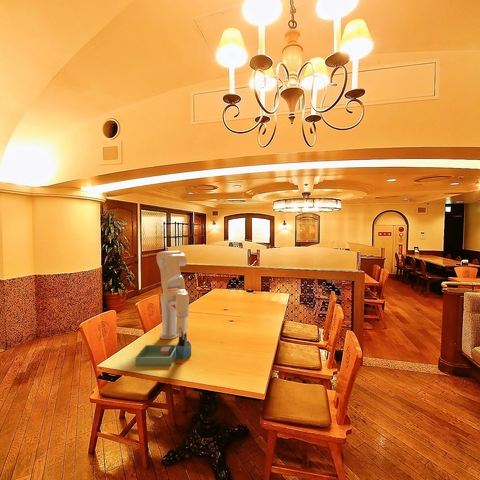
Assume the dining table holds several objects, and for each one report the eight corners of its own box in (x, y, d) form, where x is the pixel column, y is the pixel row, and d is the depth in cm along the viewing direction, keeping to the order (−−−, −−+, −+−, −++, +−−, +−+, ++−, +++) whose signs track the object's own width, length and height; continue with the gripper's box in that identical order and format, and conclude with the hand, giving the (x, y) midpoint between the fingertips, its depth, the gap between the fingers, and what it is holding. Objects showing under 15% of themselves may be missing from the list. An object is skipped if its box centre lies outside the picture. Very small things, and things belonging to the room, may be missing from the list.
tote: (145, 352, 154) (145, 345, 154) (177, 351, 154) (177, 344, 154) (135, 365, 139) (135, 357, 139) (171, 365, 139) (170, 357, 139)
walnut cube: (162, 355, 149) (162, 346, 149) (171, 355, 149) (170, 346, 149) (159, 359, 144) (159, 350, 144) (168, 359, 144) (168, 350, 144)
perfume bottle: (176, 356, 149) (175, 336, 148) (183, 352, 154) (183, 332, 154) (183, 359, 145) (183, 338, 145) (191, 354, 151) (190, 335, 150)
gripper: (179, 308, 157) (179, 337, 158) (172, 318, 140) (172, 350, 141) (191, 308, 157) (191, 337, 158) (185, 318, 140) (186, 350, 141)
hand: (182, 343), depth 149 cm, fingers closed on perfume bottle, 5 cm apart
